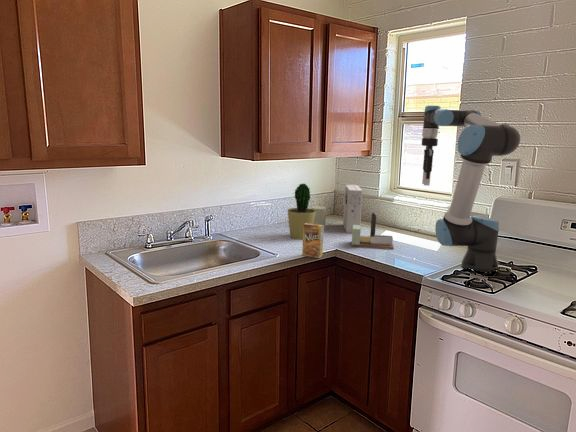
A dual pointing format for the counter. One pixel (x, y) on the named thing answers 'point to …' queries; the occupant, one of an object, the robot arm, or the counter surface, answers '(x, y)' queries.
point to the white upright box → (352, 207)
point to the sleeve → (381, 240)
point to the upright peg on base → (372, 233)
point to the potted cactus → (300, 212)
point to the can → (319, 215)
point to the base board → (373, 245)
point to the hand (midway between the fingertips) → (425, 184)
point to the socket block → (356, 234)
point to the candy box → (312, 240)
